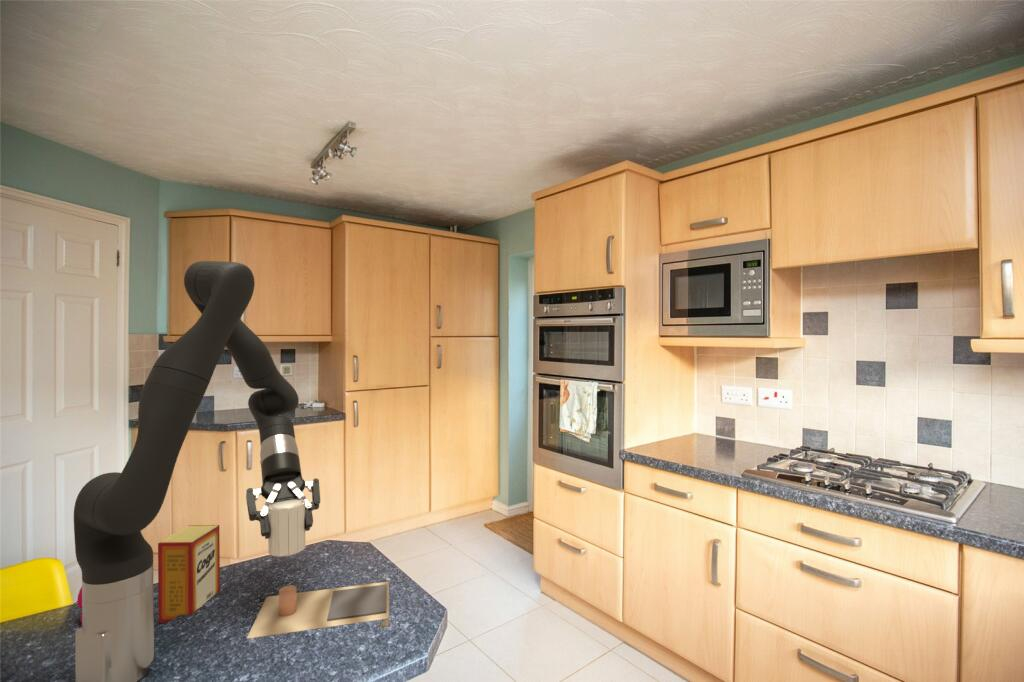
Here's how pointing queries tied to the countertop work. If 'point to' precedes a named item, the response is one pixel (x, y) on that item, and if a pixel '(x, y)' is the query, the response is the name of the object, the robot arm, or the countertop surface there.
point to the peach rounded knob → (287, 600)
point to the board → (325, 610)
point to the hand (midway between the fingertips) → (288, 532)
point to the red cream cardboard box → (188, 570)
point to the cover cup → (286, 527)
